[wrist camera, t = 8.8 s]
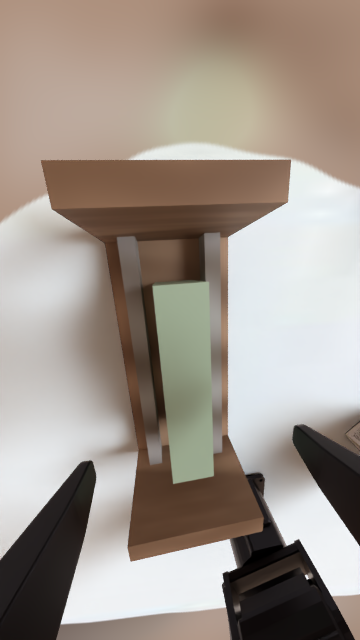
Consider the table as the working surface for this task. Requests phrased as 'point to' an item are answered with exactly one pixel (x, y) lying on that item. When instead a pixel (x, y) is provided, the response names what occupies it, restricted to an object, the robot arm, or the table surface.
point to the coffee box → (354, 435)
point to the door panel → (186, 375)
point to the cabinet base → (140, 320)
